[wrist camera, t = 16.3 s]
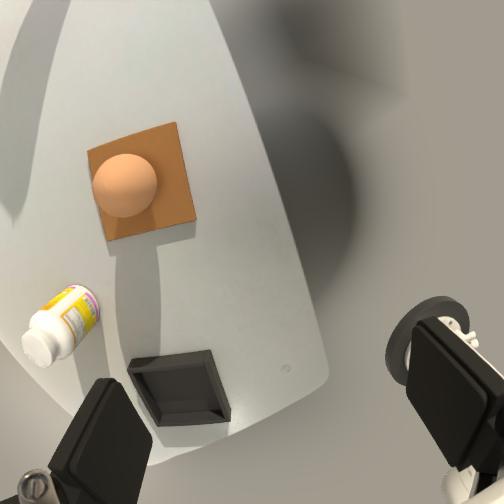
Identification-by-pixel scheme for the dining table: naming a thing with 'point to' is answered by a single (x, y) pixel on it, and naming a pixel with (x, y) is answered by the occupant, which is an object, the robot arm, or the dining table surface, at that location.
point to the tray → (181, 389)
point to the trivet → (168, 181)
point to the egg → (124, 185)
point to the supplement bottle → (60, 326)
